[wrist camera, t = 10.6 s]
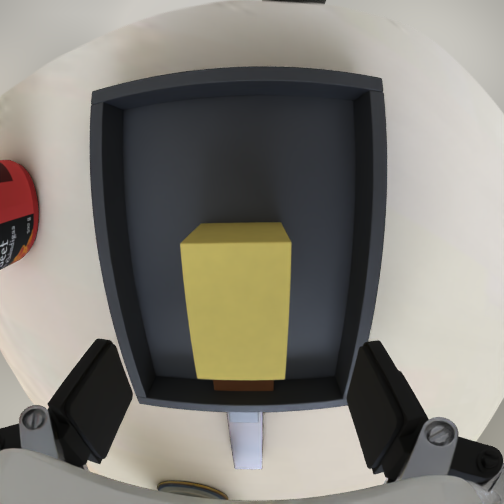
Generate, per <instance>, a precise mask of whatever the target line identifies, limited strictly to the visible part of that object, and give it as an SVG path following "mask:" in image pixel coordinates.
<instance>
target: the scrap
mask: <svg viewBox="0 0 504 504" xmlns="http://www.w3.org/2000/svg"><path fill="white" fill-rule="evenodd" d="M213 385H214V390H217V391H273V390H274V380H214V379H213Z"/></svg>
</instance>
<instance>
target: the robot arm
mask: <svg viewBox="0 0 504 504" xmlns="http://www.w3.org/2000/svg"><path fill="white" fill-rule="evenodd" d="M132 397H133V393H132V389H131V387H130V384H129V382H128V379H127V377H126V374H125V371H124V368H123V366H122V363H121V360H120V357H119V354H118V351H117V348H116V346H115V345H114V344H113V343H112V342H111V341H110V340H105V339H96V340H95V342H94V343H93V344H92V345H91V347H90V348H89V349H88V350H87V352H86V353H85V354H84V355H83V357H82V358H81V359H80V361H79V362H78V363H77V365H76V366H75V367H74V368H73V370H72V371H71V372H70V374H69V375H68V376H67V378H66V379H65V380H64V382H63V383H62V385H61V386H60V387H59V389H58V390H57V391H56V393H55V394H54V396H53V397H52V398H51V400H50V401H49V403H48V406H49V408H48V410H47V409H46V408H45V407H43V406H40V405H33V406H30V407H28V408H26V409H25V410H24V411H23V412H22V413H21V416H20V418H19V424H16V425H12V426H8V427H5V428H1V429H0V504H504V463H503V457H502V454H501V453H500V451H499V450H498V449H497V448H495V447H493V446H489V445H485V444H482V443H478V442H475V441H471V440H468V439H465V438H461V437H458V429H457V427H456V425H455V424H454V423H453V422H452V421H450V420H449V419H446V418H443V417H435V418H432V419H428V417H427V415H426V414H425V412H424V410H423V408H422V406H421V405H420V403H419V401H418V399H417V398H416V396H415V394H414V392H413V391H412V389H411V387H410V386H409V384H408V382H407V380H406V379H405V377H404V375H403V374H402V373H401V371H399V370H397V368H396V366H395V365H394V363H393V361H392V360H391V358H390V356H389V355H388V353H387V351H386V350H385V348H384V347H383V345H382V343H381V342H380V341H370V342H365V343H364V344H363V346H360V347H359V350H358V354H357V358H356V363H355V367H354V371H353V374H352V378H351V382H350V386H349V389H348V393H347V404H348V407H349V410H350V413H351V416H352V419H353V422H354V425H355V429H356V432H357V435H358V438H359V441H360V445H361V448H362V451H363V454H364V458H365V461H366V465H367V467H368V468H369V469H371V468H372V470H373V474H378V473H381V472H384V474H385V477H386V480H385V482H384V484H383V485H378V486H374V487H370V488H366V489H361V490H356V491H351V492H346V493H340V494H333V495H327V496H320V497H312V498H302V499H290V500H270V501H242V500H221V499H209V498H200V497H192V496H184V495H178V494H172V493H167V492H161V491H156V490H152V489H147V488H143V487H139V486H135V485H131V484H127V483H124V482H120V481H117V480H114V479H110V478H107V477H104V476H101V475H98V474H95V473H92V472H90V471H89V470H88V467H87V465H86V463H87V460H89V461H92V462H95V463H98V464H100V463H101V461H102V459H104V458H106V456H107V454H108V452H109V449H110V447H111V445H112V442H113V440H114V438H115V436H116V433H117V431H118V429H119V426H120V424H121V422H122V420H123V418H124V415H125V413H126V411H127V409H128V407H129V405H130V402H131V400H132Z"/></svg>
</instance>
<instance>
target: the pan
mask: <svg viewBox="0 0 504 504" xmlns="http://www.w3.org/2000/svg"><path fill="white" fill-rule="evenodd" d="M90 177H91V193H92V206H93V216H94V225H95V233H96V241H97V248H98V254H99V260H100V266H101V272H102V277H103V282H104V287H105V292H106V296H107V301H108V305H109V309H110V313H111V317H112V321H113V325H114V329H115V332H116V336H117V340H118V343H119V346H120V350H121V353H122V356H123V359H124V362H125V365H126V368H127V371H128V374H129V377H130V380H131V383H132V386H133V388H134V391H135V394H136V396H137V399H138V401H139V403H140V404H146V405H152V406H159V407H167V408H176V409H186V410H198V411H213V412H285V411H300V410H312V409H322V408H331V407H339V406H346V405H348V404H347V393H348V389H349V386H350V382H351V378H352V374H353V371H354V367H355V363H356V358H357V354H358V350H359V347H360V346H363V344H364V343H365V342H368V339H369V334H370V330H371V325H372V319H373V314H374V309H375V303H376V297H377V290H378V284H379V277H380V269H381V261H382V252H383V242H384V231H385V217H386V197H387V136H386V117H385V104H384V93H383V84H382V79H381V78H378V77H372V76H367V75H361V74H355V73H348V72H341V71H333V70H324V69H313V68H298V67H229V68H215V69H204V70H194V71H186V72H179V73H172V74H166V75H160V76H154V77H149V78H144V79H139V80H135V81H130V82H126V83H122V84H118V85H114V86H110V87H107V88H103V89H100V90H96V91H93V92H92V99H91V115H90ZM255 222H281V223H282V225H283V227H284V229H285V231H286V233H287V235H288V237H289V239H290V241H291V243H292V245H291V280H290V304H289V325H288V343H287V358H286V373H285V379H284V380H274V390H273V391H217V390H214V385H213V379H198V378H197V374H196V368H195V362H194V356H193V350H192V343H191V337H190V330H189V322H188V315H187V307H186V299H185V290H184V281H183V271H182V260H181V249H180V243H181V242H182V241H183V240H184V239H185V238H186V237H187V236H188V235H189V234H191V233H192V232H193V231H194V230H195V229H196V228H197V227H198V226H199V225H200V224H203V223H255Z"/></svg>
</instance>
